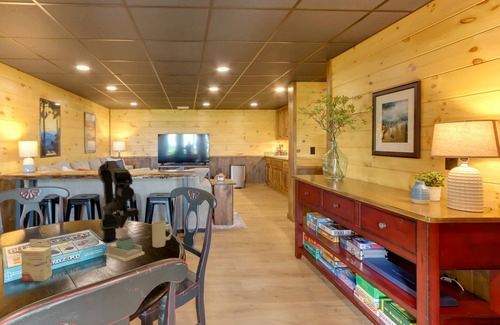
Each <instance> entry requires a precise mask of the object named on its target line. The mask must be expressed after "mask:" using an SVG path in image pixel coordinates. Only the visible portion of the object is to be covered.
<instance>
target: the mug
mask: <svg viewBox="0 0 500 325" xmlns="http://www.w3.org/2000/svg"><path fill="white" fill-rule="evenodd" d="M167 229H169V235H167V236H166V230H167ZM172 235H173V227H172V226H171V223H168V224H167V223H166V221H164V220H156V221H152V222H151V237H152V238H151V239H152V240H151V241H152V244H151V245H152V247H153V248H157V249H158V248H162V247H165V246H166V241H169V240H171V237H172Z"/></svg>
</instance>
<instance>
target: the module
mask: <svg viewBox="0 0 500 325" xmlns="http://www.w3.org/2000/svg"><path fill="white" fill-rule="evenodd" d="M115 241H116V242H115V247H116V248H119V249H123V250H126V251H127V250H130V249H133V244H134V238H133V237H131V236H129V235H128V236H127V235H126V236H123V237H120V238H119V237H118V240H115Z"/></svg>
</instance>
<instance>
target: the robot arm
mask: <svg viewBox="0 0 500 325" xmlns="http://www.w3.org/2000/svg"><path fill="white" fill-rule="evenodd" d="M97 175H98V176H99V180H100V181H101V183H102V185H103V200H104V201H103V202H104V206H103V207H102V210H103V214H102V216H101V220H100V223H99V230H100V231H102V237H103V238H102V239H103V240H104V241H105V242H104V241H103V242H104V243H110V242H114V241H116V240H118V239H119V237H117V231H116V230H117V229H123V228H124V226H125V224H126V222H127V221H128V219H129V218H131V217H135V216H140V210H139V209H138V208H134V207H131V208H130V205H128V201H130V200H131V199H132V198H133V197H134V195H135V191H134V188H132V187H131V185H133V182H134V180H133V178H132V174H131V173H130V171H129V169H127V168H122V167H121V166H120V165H119V164H118V163H117V161H116V160H107V161H105V162H104V163H103V164H101V165H99V167H98V169H97ZM113 185H114V186H113ZM113 187H114V188H113Z"/></svg>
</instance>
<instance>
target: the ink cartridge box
mask: <svg viewBox="0 0 500 325" xmlns="http://www.w3.org/2000/svg"><path fill="white" fill-rule="evenodd" d="M40 242H41V243H40ZM51 246H52V245H51V239H46V238H45V239H44V238H41V239H40V238H35V239H34V238H33V239H32V238H30V239H29V246H28V247H27V248H24V249H22V250H21V253H20V254H21V256H20V257H21V282H45V281H46V280H48V279H50V278H51V277H52V275H53V269H52V266H53V265H52V259H53V258H52V247H51Z"/></svg>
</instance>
